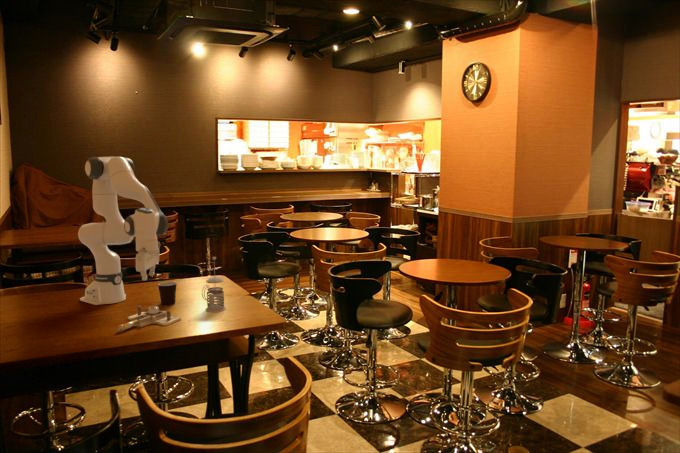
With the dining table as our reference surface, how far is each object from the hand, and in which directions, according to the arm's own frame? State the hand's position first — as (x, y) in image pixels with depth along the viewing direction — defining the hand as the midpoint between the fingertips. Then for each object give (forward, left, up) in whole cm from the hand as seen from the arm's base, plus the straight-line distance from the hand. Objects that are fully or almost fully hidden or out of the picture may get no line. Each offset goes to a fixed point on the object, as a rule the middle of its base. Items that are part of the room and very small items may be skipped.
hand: (148, 277), depth 239 cm
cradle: (0, -1, -19) cm, 19 cm away
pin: (0, -12, -19) cm, 23 cm away
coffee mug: (-13, +26, -20) cm, 35 cm away
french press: (+14, +26, -20) cm, 36 cm away
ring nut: (0, +2, -18) cm, 19 cm away
